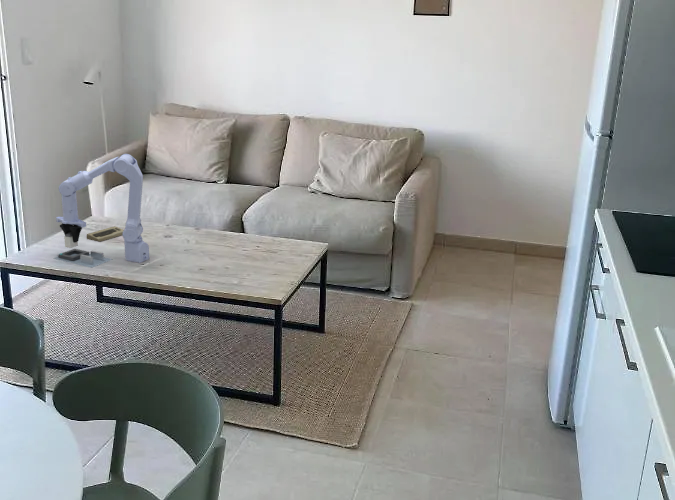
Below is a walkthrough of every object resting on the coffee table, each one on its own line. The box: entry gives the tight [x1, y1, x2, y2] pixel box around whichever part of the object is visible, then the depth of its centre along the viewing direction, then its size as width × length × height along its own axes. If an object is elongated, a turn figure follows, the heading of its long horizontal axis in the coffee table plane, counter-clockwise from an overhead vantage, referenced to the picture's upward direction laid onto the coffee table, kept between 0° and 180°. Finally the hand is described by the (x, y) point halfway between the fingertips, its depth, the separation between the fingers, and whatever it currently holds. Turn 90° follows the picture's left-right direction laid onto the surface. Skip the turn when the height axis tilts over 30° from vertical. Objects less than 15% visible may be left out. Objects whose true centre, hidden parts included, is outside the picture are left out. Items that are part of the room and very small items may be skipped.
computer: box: [86, 225, 124, 243], centre depth 329 cm, size 16×8×3 cm, turn 146°
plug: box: [63, 232, 79, 249], centre depth 296 cm, size 3×4×6 cm
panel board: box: [53, 253, 113, 269], centre depth 297 cm, size 21×12×1 cm, turn 64°
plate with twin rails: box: [80, 250, 105, 265], centre depth 295 cm, size 6×7×3 cm
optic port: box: [57, 248, 90, 261], centre depth 299 cm, size 8×9×2 cm
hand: (72, 241), depth 297 cm, fingers closed on plug, 3 cm apart
